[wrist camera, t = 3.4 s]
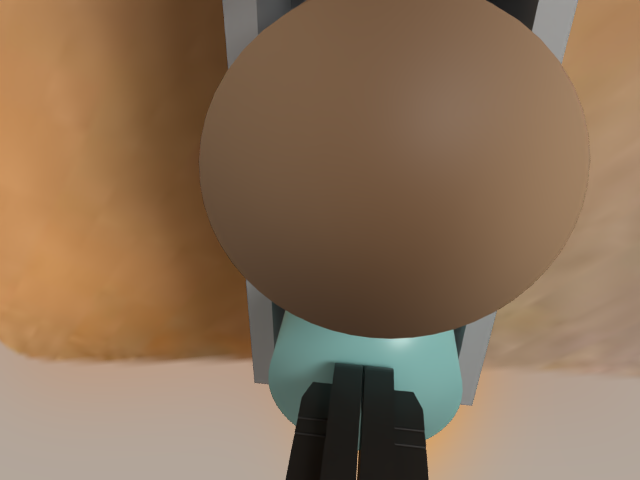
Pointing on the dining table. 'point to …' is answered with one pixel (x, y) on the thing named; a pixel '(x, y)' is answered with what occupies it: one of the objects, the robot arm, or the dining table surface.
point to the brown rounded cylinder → (394, 163)
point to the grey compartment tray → (266, 317)
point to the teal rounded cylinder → (400, 354)
